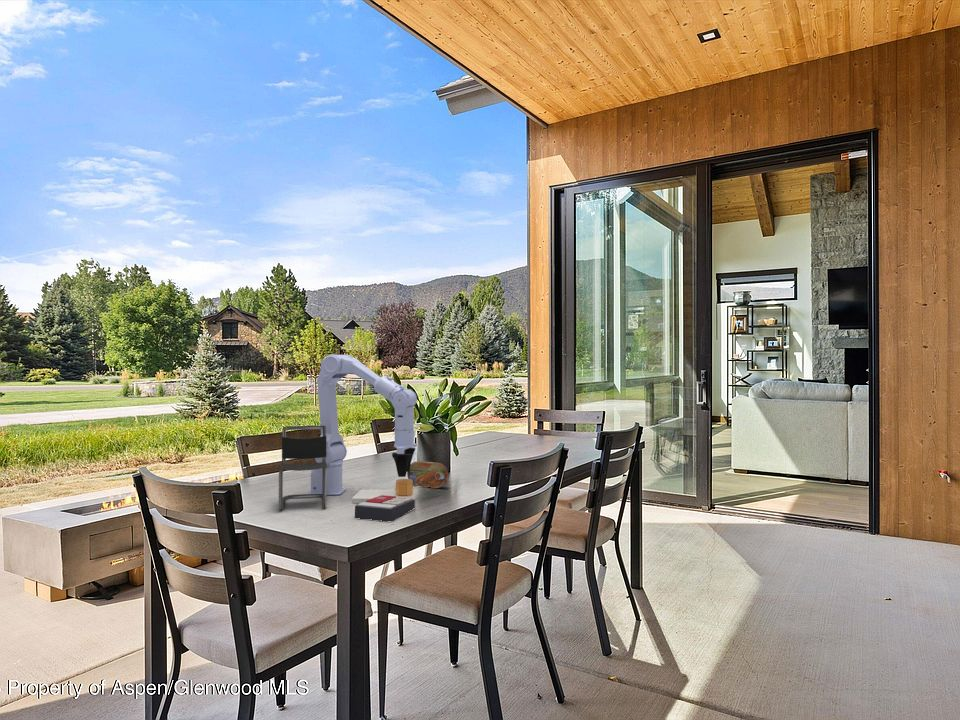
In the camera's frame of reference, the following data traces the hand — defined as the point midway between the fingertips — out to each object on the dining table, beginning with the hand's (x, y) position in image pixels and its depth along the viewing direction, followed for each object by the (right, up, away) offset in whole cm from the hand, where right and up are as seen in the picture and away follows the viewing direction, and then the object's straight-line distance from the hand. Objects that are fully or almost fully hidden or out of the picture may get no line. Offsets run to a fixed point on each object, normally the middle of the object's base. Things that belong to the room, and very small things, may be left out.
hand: (403, 474), depth 183 cm
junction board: (-5, -8, 0) cm, 9 cm away
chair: (-29, -8, -7) cm, 30 cm away
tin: (+6, -8, +18) cm, 20 cm away
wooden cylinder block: (0, -6, 0) cm, 6 cm away
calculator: (-3, -8, -17) cm, 19 cm away
